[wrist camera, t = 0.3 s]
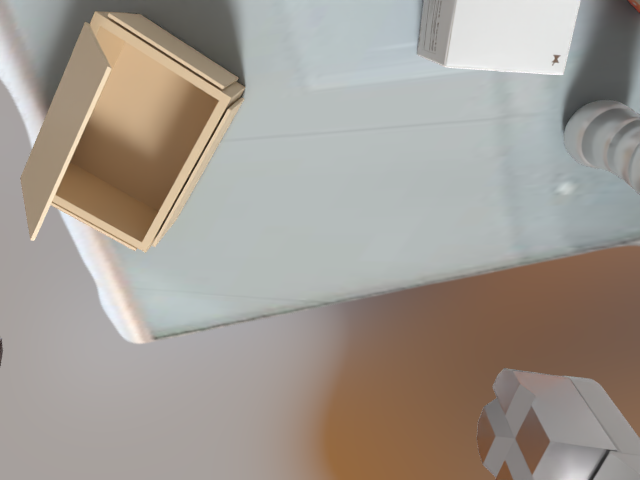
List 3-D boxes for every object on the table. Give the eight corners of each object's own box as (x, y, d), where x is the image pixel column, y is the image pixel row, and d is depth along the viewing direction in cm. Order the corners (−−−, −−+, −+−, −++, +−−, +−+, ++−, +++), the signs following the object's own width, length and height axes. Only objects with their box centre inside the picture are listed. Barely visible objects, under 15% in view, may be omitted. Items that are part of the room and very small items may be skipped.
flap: (85, 21, 42) (107, 66, 36) (88, 23, 42) (111, 68, 36) (20, 178, 48) (30, 240, 42) (23, 178, 48) (34, 240, 42)
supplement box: (524, -39, 47) (602, -63, 34) (504, 63, 51) (567, 78, 37) (427, -46, 47) (466, -74, 34) (413, 56, 51) (443, 69, 37)
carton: (132, 8, 50) (97, 5, 42) (252, 85, 52) (238, 96, 45) (61, 167, 56) (20, 189, 49) (171, 229, 59) (148, 258, 52)
